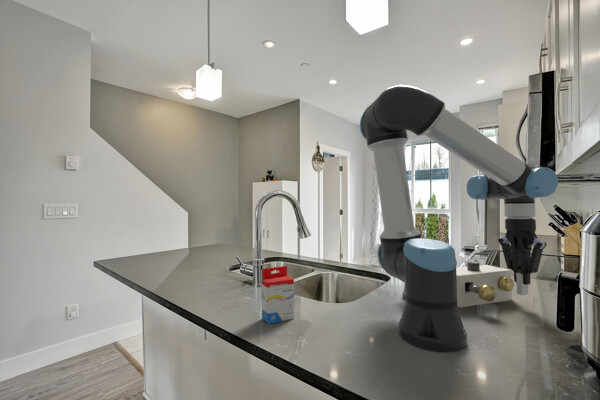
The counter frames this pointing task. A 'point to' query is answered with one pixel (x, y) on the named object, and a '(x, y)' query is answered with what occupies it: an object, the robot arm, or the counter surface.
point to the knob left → (482, 291)
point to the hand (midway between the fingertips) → (522, 293)
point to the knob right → (505, 284)
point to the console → (478, 278)
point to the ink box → (277, 295)
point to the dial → (473, 266)
